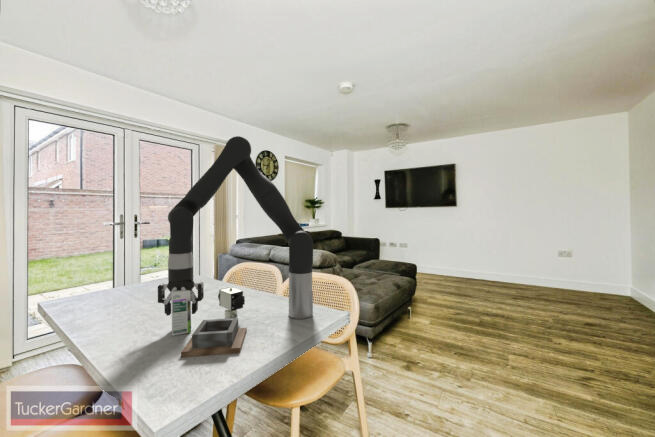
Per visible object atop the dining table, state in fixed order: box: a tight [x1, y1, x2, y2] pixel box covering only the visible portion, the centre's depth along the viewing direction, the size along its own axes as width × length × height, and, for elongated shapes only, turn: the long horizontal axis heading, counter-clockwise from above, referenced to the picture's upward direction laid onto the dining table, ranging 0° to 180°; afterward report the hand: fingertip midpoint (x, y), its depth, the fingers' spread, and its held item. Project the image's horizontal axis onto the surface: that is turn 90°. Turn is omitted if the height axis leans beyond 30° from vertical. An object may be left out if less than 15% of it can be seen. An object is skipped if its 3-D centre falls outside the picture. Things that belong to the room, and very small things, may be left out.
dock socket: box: [180, 317, 248, 358], centre depth 85 cm, size 16×14×6 cm
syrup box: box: [170, 290, 192, 337], centre depth 94 cm, size 6×6×14 cm
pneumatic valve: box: [217, 286, 246, 319], centre depth 105 cm, size 6×12×12 cm, turn 50°
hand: (181, 313), depth 94 cm, fingers open, 7 cm apart
